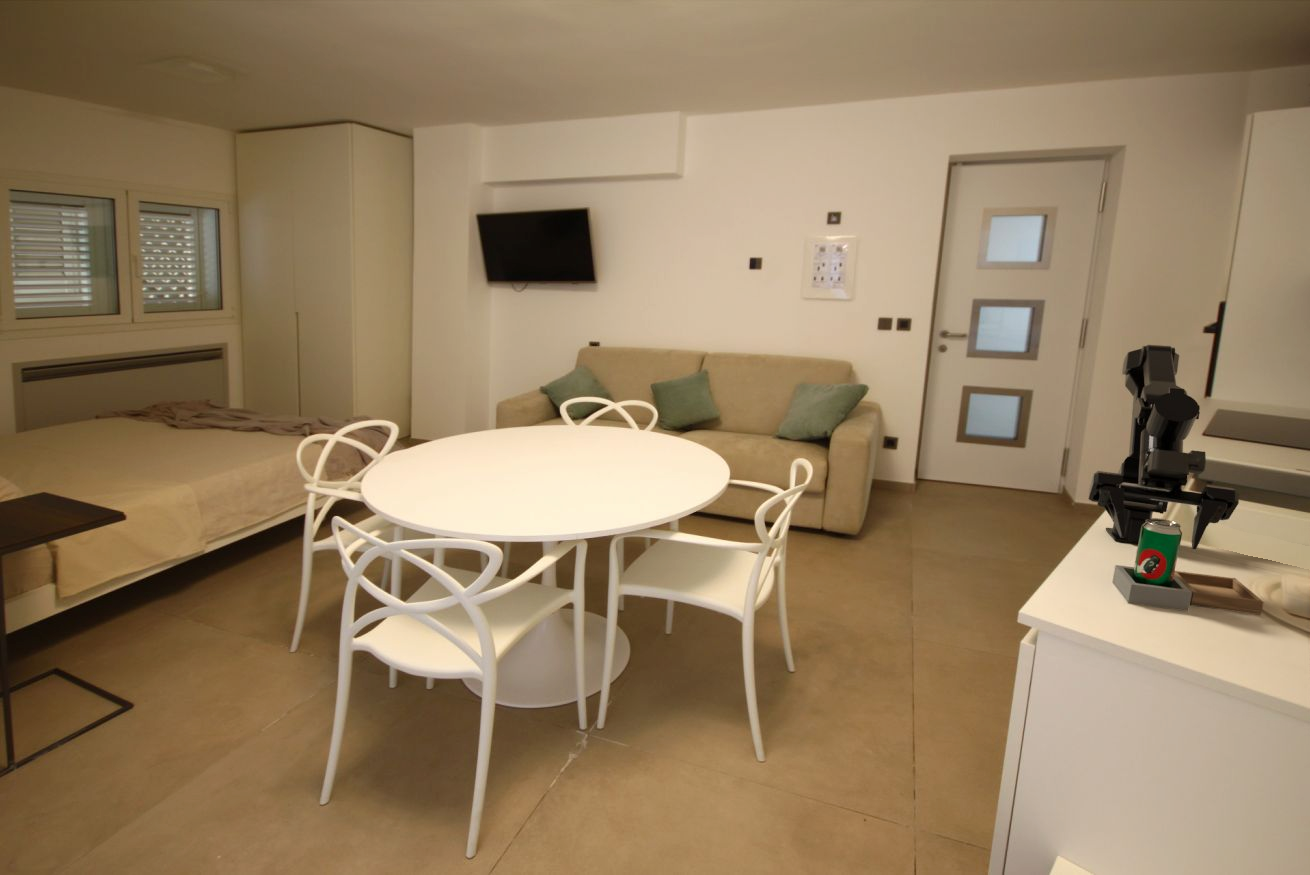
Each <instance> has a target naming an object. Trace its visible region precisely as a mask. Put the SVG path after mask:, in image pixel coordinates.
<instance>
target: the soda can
mask: <svg viewBox="0 0 1310 875" xmlns="http://www.w3.org/2000/svg"><path fill="white" fill-rule="evenodd" d="M1181 527H1182V526H1181V525H1180V524H1179V523H1177V522H1175V521H1172V520H1168V519H1164V518H1156V517H1155V518H1154V517H1152V518H1148V519H1146V522H1145V523H1144V524H1143V525H1142V527H1141V532H1140V538H1139V543H1137V547H1136V548H1137V549H1136V554H1135V555H1136V556H1135V560H1134V565H1133V567H1134V569H1133V575H1132V579H1133V580H1134V582H1135V583H1139V584H1147V585H1154V586H1162V587H1170V588H1171V587H1172V582H1173V577H1174V572H1175V571H1176V567H1177V563H1178V562H1177V561H1178V557H1179V551H1180V546H1181V542H1182V537H1183V531H1182V530H1181Z"/></svg>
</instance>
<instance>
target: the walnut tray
mask: <svg viewBox="0 0 1310 875" xmlns="http://www.w3.org/2000/svg"><path fill="white" fill-rule="evenodd" d="M1174 574H1175V576H1176V577H1177V578H1178V579H1179V580H1180V581H1181V582H1182V583H1183V584H1184V585H1185V586H1186V587H1187V588H1188V589H1189V590H1190V591H1191V592H1192V596H1191V601H1190V605H1191V606H1196V607H1201V608H1202V607H1203V608H1211V609H1217V610H1225V611H1230V612H1231V611H1232V612H1237V613H1240V612H1241V613H1247V614H1255V615H1261V614H1262V610H1263V606H1264V604H1265V602H1264V601H1263V600H1262V599H1261V598H1260V597H1258V596H1257V595H1256V594H1255V593H1254V592H1252V590H1251V589H1249V588H1248V587H1247V586H1245V584H1243V583H1242V581H1241V582H1240V581H1239V580H1238V579H1237V578H1235V577H1226V576H1219V575H1213V574H1211V575H1210V574H1204V573H1195V572H1188V571H1187V572H1185V571H1179V570H1175V572H1174ZM1190 605H1189V606H1190Z"/></svg>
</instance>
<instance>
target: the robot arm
mask: <svg viewBox="0 0 1310 875" xmlns="http://www.w3.org/2000/svg"><path fill="white" fill-rule="evenodd" d="M1179 360H1180V355H1179V353H1177V352H1176V348H1175V347H1172V346H1171V345H1161V344H1159V345H1157V344H1147V345H1142V347H1141V348H1139V349H1135V350H1131V351H1129V352H1127V353H1126V355H1125V356H1124V360H1123V365H1122V372H1121V373H1122V375H1125V378H1124V380H1125V381H1124V386H1125V388H1126V389H1127V390H1128V391H1129V392H1130V394H1131V396H1133V398H1132V400H1133V401H1132V411H1131V412H1132V413H1131V425H1130V436H1129V437H1130V438H1129V451H1128V452H1129V453H1128V456H1127V457H1126V458H1125V459H1124V460H1123V462H1122V463H1121V465H1120V467H1119V470H1118V472H1117V473H1116V472H1109V471H1102V470H1098V471H1095V473H1093V476H1092V478H1091V482H1090V484H1089V488H1088V500H1089V501H1091V502H1094V503H1095V502H1096V503H1097V506H1098V507H1102V508H1103V509H1104V510H1105V511H1106V513H1107V514H1108V516H1109V517H1110V518H1111V521H1112V522H1113V524H1112V527H1105V532H1106V533H1107V534H1109V535H1110V537H1111V538H1112V539H1113V540H1114V541H1116V542H1123V543H1133V544H1138V543H1139V538H1140V532H1141V527H1142V525H1143V524H1144V523H1145V522H1146V519H1148V518H1153V514H1154V513H1158V514H1164V513H1166V512H1167V510H1168V505H1169V503H1174V504H1181V505H1186V506H1187V505H1188V506H1194V507H1196V514H1195V516H1194V519H1193V528H1192V535H1191V536H1192V537H1191V548H1192V550H1197V548H1198V546H1199V544H1200V542H1201V540H1202V538H1203V535H1204V533H1205V532H1206V529H1207V527H1208V526H1209V525H1210V524H1218V523H1219V522H1220V521H1227V520H1230V518H1231V516H1232V515H1233V512H1235V510H1236V508H1237V507H1238V505H1239V503H1240V501H1239V500H1240V499H1239V496H1240V495H1239V492H1237V491H1236V490H1235V489H1234V488H1233V487H1227V486H1219V485H1218V486H1217V485H1210V484H1205V485H1204V488H1203V489H1202V491H1201V492H1195V491H1186V490H1183V486H1184V487H1185V486H1186V485H1187V484H1188V476H1189V475H1190V474H1196V475H1197V474H1198V475H1200V474H1202V473H1203V472H1204V471H1205V469H1206V461H1207V460H1206V458H1207V456H1206V455H1207V454H1206V451H1202V450H1193V449H1192V450H1190V452H1184V441H1185V439H1187V437H1188V436H1189V435H1190V433H1191V430H1192V428H1193V426H1194V423H1195V422H1196V420H1199V418H1200V410H1201V409H1200V408H1201V407H1200V404H1198V402H1197V401H1196V399H1195V398H1193V397H1192V396H1190V395H1188V392H1187V390H1185V388H1182V387H1180V386H1179V385H1177V382H1176V375H1177V374H1178V369H1179V368H1178V367H1179V363H1180V362H1179Z"/></svg>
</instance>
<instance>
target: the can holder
mask: <svg viewBox="0 0 1310 875" xmlns="http://www.w3.org/2000/svg"><path fill="white" fill-rule="evenodd" d="M1133 569H1134V566H1127V565H1118V564H1115V565H1114V572H1113V575H1112V576H1113V577H1112V581H1111V582H1112V584H1113V585H1114V587H1115V588H1116V590H1118V592H1119V593H1120V595H1121V597H1123V598H1124V599H1125V601H1126V602H1127V603H1128V604H1132V605H1133V604H1135V605H1142V606H1147V607H1156V608H1165V609H1170V610H1179V611H1184V612H1188V611H1189V610H1190V601H1191V596H1192V592H1191V591H1190V590H1189V589H1188V588H1187V587H1186V586H1185V585H1184V584H1183V583H1182V582H1181V581H1180V580H1179V579H1178V578H1177V577H1176V576H1175V574H1174V577H1173V582H1172V587H1171V588H1170V587H1162V586H1154V585H1147V584H1139V583H1135V582H1134V580H1133V579H1132V575H1133Z"/></svg>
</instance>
